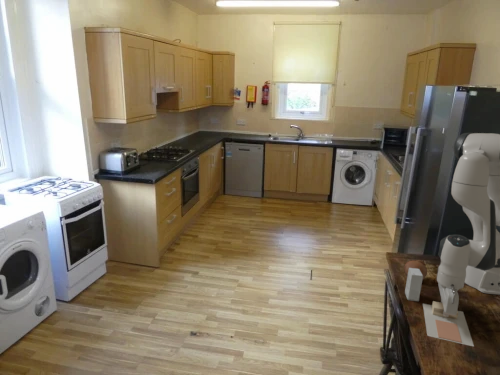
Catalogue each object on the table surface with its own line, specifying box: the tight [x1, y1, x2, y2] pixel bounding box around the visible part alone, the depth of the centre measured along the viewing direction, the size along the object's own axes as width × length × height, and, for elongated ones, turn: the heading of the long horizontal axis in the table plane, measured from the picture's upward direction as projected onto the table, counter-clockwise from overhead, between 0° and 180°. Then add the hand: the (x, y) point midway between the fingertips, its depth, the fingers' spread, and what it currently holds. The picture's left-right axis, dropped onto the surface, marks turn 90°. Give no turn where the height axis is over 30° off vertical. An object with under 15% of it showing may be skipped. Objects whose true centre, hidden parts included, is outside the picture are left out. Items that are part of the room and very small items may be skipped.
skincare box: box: [404, 268, 423, 302], centre depth 143 cm, size 6×4×12 cm
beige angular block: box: [431, 300, 459, 320], centre depth 133 cm, size 8×4×3 cm, turn 69°
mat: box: [422, 303, 475, 347], centre depth 128 cm, size 14×20×1 cm
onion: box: [403, 259, 428, 282], centre depth 157 cm, size 10×9×10 cm
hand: (444, 311), depth 133 cm, fingers closed on beige angular block, 4 cm apart
